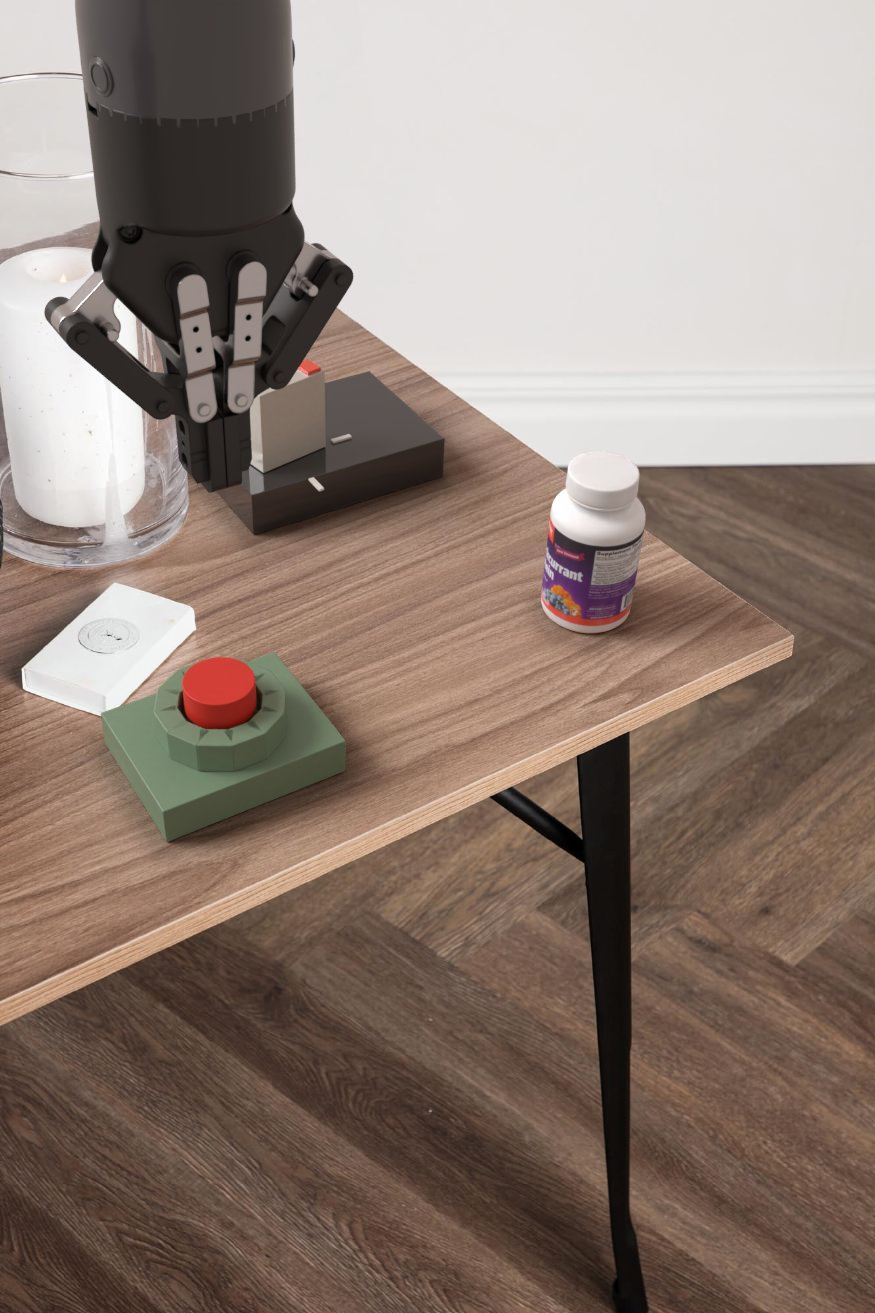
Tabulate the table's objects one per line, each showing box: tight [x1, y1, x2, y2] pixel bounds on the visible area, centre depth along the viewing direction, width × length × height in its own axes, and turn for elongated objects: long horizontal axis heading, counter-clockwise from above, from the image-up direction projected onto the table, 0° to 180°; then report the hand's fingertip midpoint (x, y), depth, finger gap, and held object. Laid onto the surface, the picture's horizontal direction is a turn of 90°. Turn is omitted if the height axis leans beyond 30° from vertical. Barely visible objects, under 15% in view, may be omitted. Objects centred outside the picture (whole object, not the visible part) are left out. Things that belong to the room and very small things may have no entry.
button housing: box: [100, 651, 347, 843], centre depth 72 cm, size 10×8×4 cm
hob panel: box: [215, 370, 446, 536], centre depth 93 cm, size 15×12×3 cm
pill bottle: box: [540, 450, 647, 634], centre depth 81 cm, size 5×5×10 cm
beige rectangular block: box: [250, 359, 326, 473], centre depth 88 cm, size 5×2×6 cm, turn 132°
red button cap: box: [182, 656, 257, 729], centre depth 71 cm, size 4×4×2 cm
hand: (216, 480), depth 62 cm, fingers closed
